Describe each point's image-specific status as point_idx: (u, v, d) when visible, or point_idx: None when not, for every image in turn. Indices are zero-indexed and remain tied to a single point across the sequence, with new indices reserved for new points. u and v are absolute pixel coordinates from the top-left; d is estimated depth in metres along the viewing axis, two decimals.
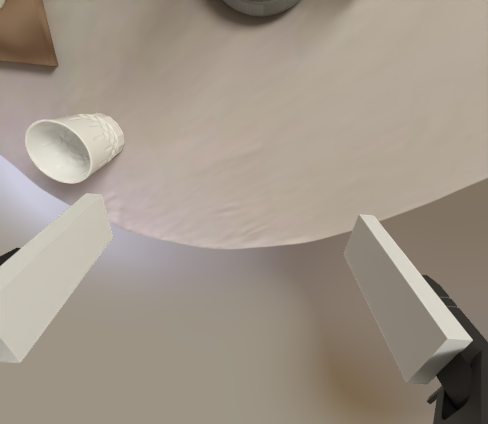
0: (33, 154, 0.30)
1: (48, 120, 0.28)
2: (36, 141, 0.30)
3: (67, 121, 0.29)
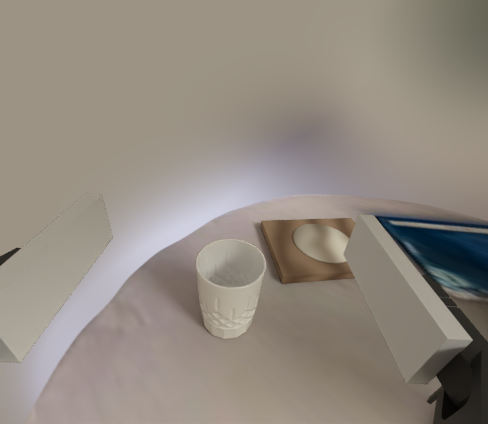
0: (223, 242, 0.31)
1: (264, 258, 0.28)
2: (233, 248, 0.31)
3: None
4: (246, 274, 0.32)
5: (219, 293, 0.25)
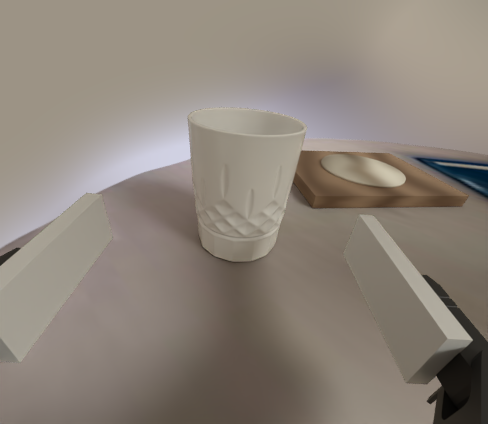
0: (232, 113, 0.19)
1: (301, 122, 0.17)
2: (248, 126, 0.20)
3: None
4: None
5: (229, 150, 0.14)
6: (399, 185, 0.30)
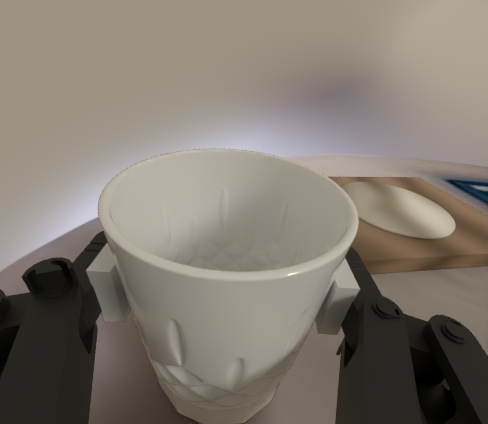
0: (210, 159, 0.11)
1: (338, 187, 0.09)
2: (239, 179, 0.12)
3: None
4: (270, 249, 0.13)
5: (179, 301, 0.05)
6: (449, 234, 0.22)
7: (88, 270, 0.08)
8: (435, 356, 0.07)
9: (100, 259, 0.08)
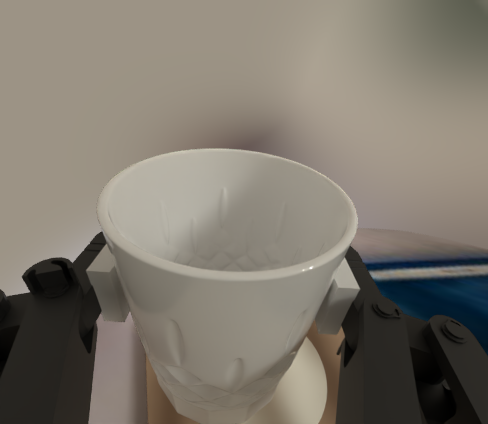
0: (210, 158, 0.11)
1: (337, 187, 0.09)
2: (239, 178, 0.12)
3: None
4: (269, 249, 0.13)
5: (178, 301, 0.05)
6: None
7: (88, 270, 0.08)
8: (435, 356, 0.07)
9: (100, 259, 0.08)
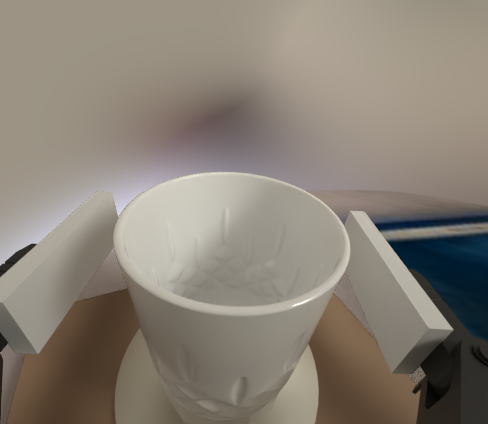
0: (213, 182, 0.12)
1: (332, 213, 0.10)
2: (240, 199, 0.12)
3: None
4: (269, 265, 0.14)
5: (189, 330, 0.06)
6: None
7: None
8: None
9: None
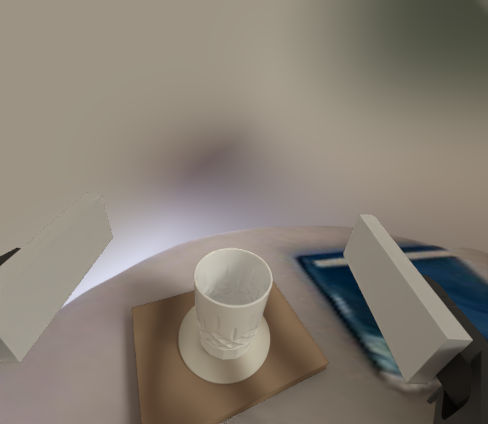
0: (224, 252, 0.28)
1: (270, 271, 0.25)
2: (235, 258, 0.28)
3: None
4: (248, 287, 0.29)
5: (220, 312, 0.22)
6: (259, 367, 0.27)
7: None
8: None
9: None
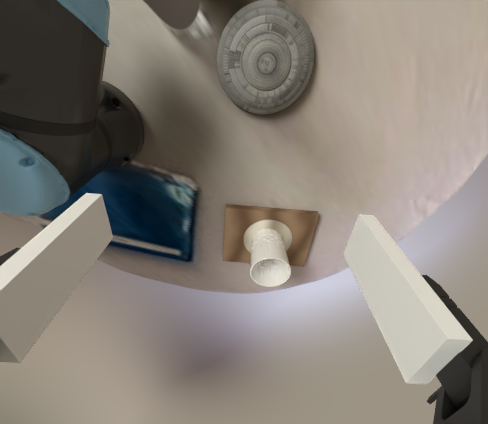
0: (266, 284, 0.49)
1: (251, 268, 0.46)
2: (259, 278, 0.50)
3: (254, 259, 0.47)
4: None
5: (285, 258, 0.46)
6: (261, 220, 0.53)
7: None
8: None
9: None
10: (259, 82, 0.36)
